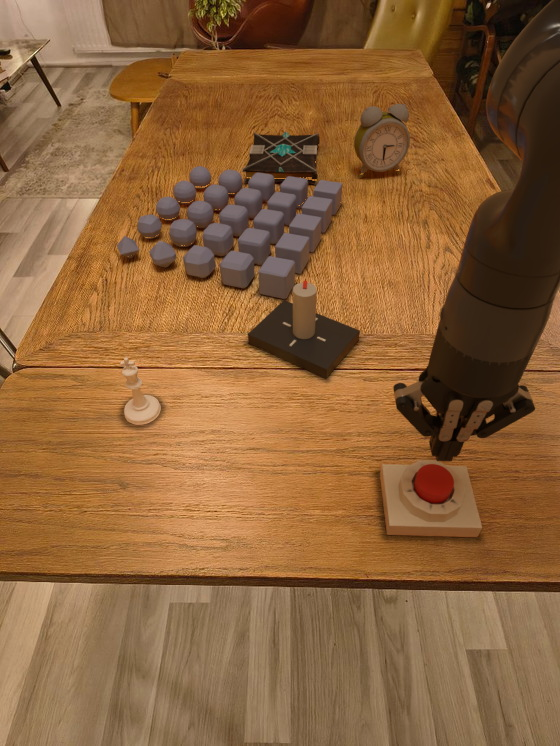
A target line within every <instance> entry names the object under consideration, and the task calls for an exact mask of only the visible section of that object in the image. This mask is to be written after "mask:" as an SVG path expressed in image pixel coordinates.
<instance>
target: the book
mask: <svg viewBox="0 0 560 746" xmlns="http://www.w3.org/2000/svg"><path fill="white" fill-rule="evenodd" d="M320 141H321V140H320V133H319V132H316V133H315V134H299V135H297V134H293V135H291V134H289V132H287V131H284V133H282V134H259V133H257V132H256V131H254V132H253V143H252V144H251V146H250V149H249V152H248V155H249V156H248V157H249V160H248V161H247V163H246V165H245V167H243V168H242V169H241V170H242V173H245V179H243V183H244V184H248V182H249V180H250V178H246V177H252V176H253V175H254V174H255V173H265V174H271V175H272V176H273V177H274V178H286V177H288V176H291V177H298V178H299V177H301V178H303V177H304V178H306V177H312V179H317V181H312V180H308V184H312V185H313V186H316V185H317V184H318V170H317V164H318V163H317V161H318V150H317V148H318V149H319V147H320ZM318 144H319V146H318ZM316 160H317V161H316ZM315 161H316V163H315ZM274 180H275V182H277V183H282V182H283V181H284V180H285V179H274Z"/></svg>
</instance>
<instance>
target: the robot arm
mask: <svg viewBox="0 0 560 746" xmlns="http://www.w3.org/2000/svg"><path fill="white" fill-rule="evenodd" d="M485 110H486V118H487V121H488V123H489V126H490V128H491V130H492V132H493V133H494V135H495V136H497V138H498V139H499V140H500V141H501V142H502V143H503V144H504V145H505V146H506V147H507V148H508V149H510V151H511V152H512V153H513V154H514V155H515V156H516V157H517V158H518V159H519V160H520V161H521V162H522V163H521V169H520V173H519V177H518V180H517V183H516V185H515V186H514V188H509V189H505V190H500V191H498V192H495V193H493V194H491V195H489V196H488V197H487V198H485V199H484V200H483V201H482V202H481V203H480V204H479V206H478V207H477V209H476V210H475V212H474V214H473V216H472V219H471V222H470V223H469V224H470V225H469V227H468V230H467V234H466V237H465V240H464V244H463V248H462V251H461V255H460V259H459V262H458V265H457V269H456V272H455V275H454V277H453V280H452V282H451V283H450V286H449V287H448V291H447V294H446V295H445V296H446V297H445V301H444V304H443V305H442V307H441V309H440V312H439V313H440V314H439V321H438V325H437V329H436V332H435V337H434V340H433V344H432V347H431V351H430V355H429V360H428V364H427V366H426V368H425V369H424V370H423V371H421V372H420V374H419V376H418V381H416V382H413V383H412V384H410V385H408V386H407V385H406V383H404V382H397V383H395V384H394V385H393V386H392V389H393V395H394V401H395V408H396V410H397V411H398V412H399V413H400V414H401V415H402V416H403V417H404V418H405V419H406V421H408V422H409V424H411V426H412V427H413V428H414V429H415V430H416V431H417V432H418V433H419V434H420V435H421V436H422V437H426V438H429V441H428V443H429V449H430V454H431V456H432V457H435V461H438V462H452V461H453V459H454V458H457V457H458V456H459V455H460V454H461V451H462V448H463V447H464V444H465V442H468V441H469V440H470V439H471V436H473V437H474V436H476V437H477V438H479V439H486V438H488V437H490V436H492V435H495V434H496V433H497V432H499V431H501V430H503V429H504V428H506V427H508V426H510V425H513V424H514V423H515V422H517V421H519V420H522V419H523V418H524V417H526V416H529V415H530V414H532V413H533V412H535V411H536V406H535V403H534V401H533V398H532V395H531V393H530V392H529V389H528V387H527V386H526V385H519V383H520V382H521V380H522V378H523V375H524V373H525V371H526V369H527V367H528V365H529V363H530V360H531V358H532V356H533V354H534V352H535V349H536V348H537V345H538V344H539V342H540V339H541V338H542V335H543V333H544V331H545V329H546V326H547V325H548V321H549V319H550V316H551V312H552V309H553V304H554V301H555V298H556V296H557V294H558V292H559V290H560V0H550V1H549V2H548V3H547V4H546V5H545V6H543V8H541V10H540V11H539V12H538V13H537V14H535V16H534V17H533V18H532V19H531V20H530V21H529V22H528V23H527V24H526V26H525V27H524V28H523V29H522V30H521V32H519V34H518V35H517V36H516V37H515V39H514V40H513V41H512V43H511V44H510V45H509V47H508V48H507V50H506V52H505V53H504V54H503V57H502V58H501V60H500V61H499V64H498V65H497V67H496V69H495V71H494V73H493V75H492V77H491V81H490V84H489V87H488V89H487V94H486V101H485ZM423 396H424V398H425V399H426V400H427V401H428V402H429V404H430V405H431V406H432V408H433V409H434V410H435V414H434V415H433V414H431V411H430V410H429V409H428V408H427V407H426V406H425V404H424V403H423V401H422V397H423ZM492 416H494V418H493V419H492V420H490V421H488V422H487V420H488V419H489V418H490V417H492Z"/></svg>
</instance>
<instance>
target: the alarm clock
mask: <svg viewBox="0 0 560 746" xmlns="http://www.w3.org/2000/svg"><path fill="white" fill-rule="evenodd" d="M409 118H410V112H409V109H408V107H407V105H406V104H405V103H395V104H392V105H391V106H390V107H388V108H387V111H383V110H382V109H381V108H380V107H379V106H375V105H372V106H368V107H366V108H365V109H364V110H363V111H362V112H361V116H360V125H359V126H358V129H357V130H356V133H355V135H354V140H353V147H354V152H355V155H356V156H357V158H358V160H359V161H360V162H361V163H362V166H361V168H360V171H361V173H365V172H366V173H367V172H368V171H369V170H370V171H371V172H375V173H384V172H387V171H390V170H394V169H395V170H398V169H400V163H401V162H402V161H403V160H404V158H405V157H406V156H407V153H408V151H409V148H410V144H411V135H410V131H409V129H408V127H407V126H406V125H407V123H408V122H409ZM395 170H394V171H395ZM366 173H365V174H366ZM395 173H396V174H397V175H400V174H401V170H400V171H395ZM363 177H364V175H360V173H359V174H358V179H362V178H363Z"/></svg>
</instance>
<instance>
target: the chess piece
mask: <svg viewBox="0 0 560 746" xmlns="http://www.w3.org/2000/svg"><path fill="white" fill-rule="evenodd" d="M119 365H120V367H123V368H121V374H122V376H123V377H124V378H126V380H125V387H126V388H127V389H128V390H131V393H132V398H131V399H129V400H128V401H127V402H126V404H125V406H124V408H123V414H124V418H125V419H126V420H125V421H127V422H129V423H130V424H132V425H137V426H142V425H146V424H150V423H152V422H153V421H155V420H156V419H157V418H158V417H159V416H160V414H161V412H162V411H161V409H162V407H161V406H162V405H161V404H160V402H159V400H158V398H156V397H155V396H153V395H150V394H143V391H142V390H141V387H142V385H143V380H142V379H141V378H140V377H139V376H138V373H139V368H138V366H137V365H136V363H135V361H134V360H129V357H124V358H123V360H120V363H119Z"/></svg>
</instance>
